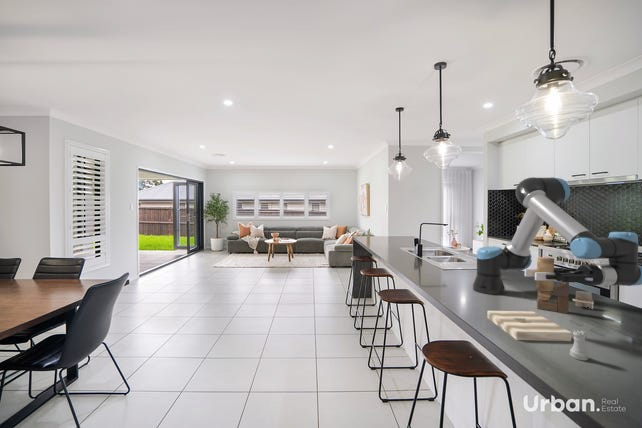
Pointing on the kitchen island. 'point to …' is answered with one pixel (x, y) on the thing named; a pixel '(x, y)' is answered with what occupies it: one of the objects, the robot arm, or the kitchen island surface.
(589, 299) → the architectural model
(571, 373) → the kitchen island surface
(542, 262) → the oak leg
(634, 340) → the kitchen island surface
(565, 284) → the wooden post with wedge
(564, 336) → the birch board
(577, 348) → the rook chess piece
